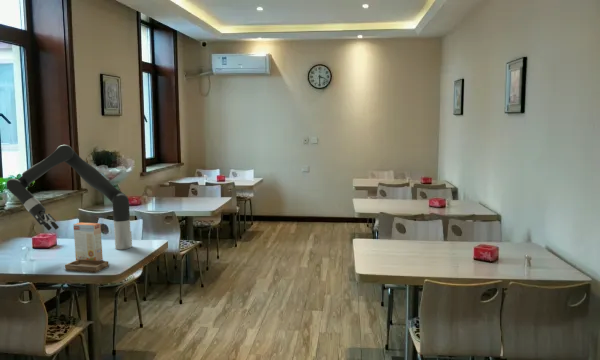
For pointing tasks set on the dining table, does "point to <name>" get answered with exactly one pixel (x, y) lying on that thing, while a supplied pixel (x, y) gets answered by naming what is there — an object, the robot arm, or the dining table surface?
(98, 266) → the tray
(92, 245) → the cracker box
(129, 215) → the robot arm
